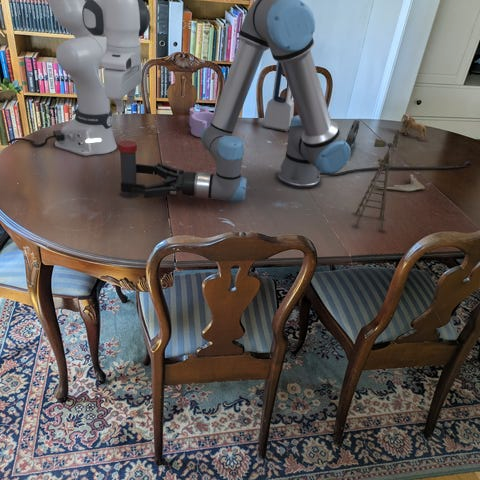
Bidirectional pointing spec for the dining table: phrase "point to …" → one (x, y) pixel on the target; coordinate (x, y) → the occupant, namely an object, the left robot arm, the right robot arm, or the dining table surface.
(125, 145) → the lid
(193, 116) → the clip
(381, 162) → the miniature windmill
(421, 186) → the jawbone
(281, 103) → the electronic device
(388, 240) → the dining table surface
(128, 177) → the dark grey bottle
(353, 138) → the handheld gaming console
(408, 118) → the lion figurine
